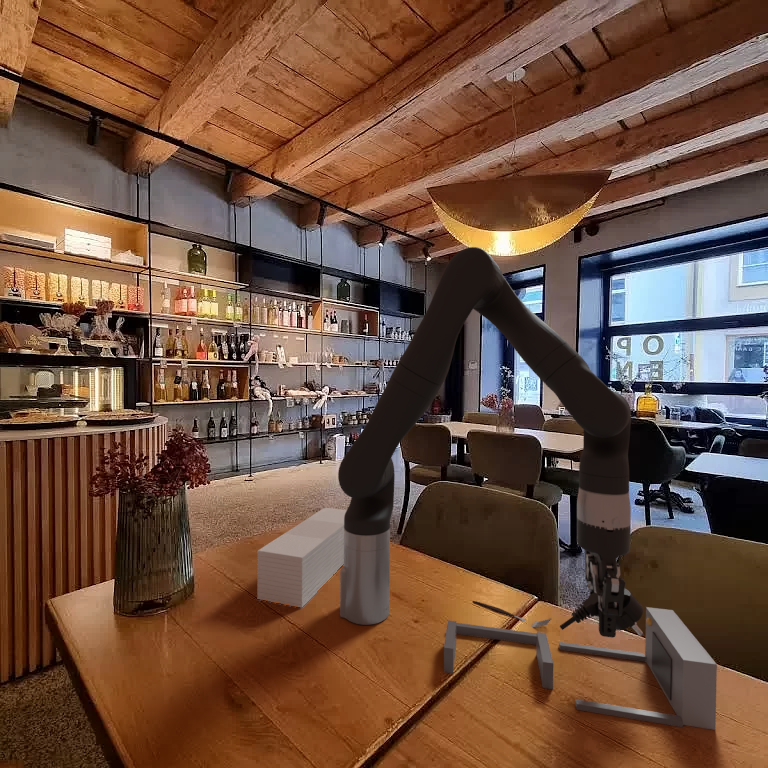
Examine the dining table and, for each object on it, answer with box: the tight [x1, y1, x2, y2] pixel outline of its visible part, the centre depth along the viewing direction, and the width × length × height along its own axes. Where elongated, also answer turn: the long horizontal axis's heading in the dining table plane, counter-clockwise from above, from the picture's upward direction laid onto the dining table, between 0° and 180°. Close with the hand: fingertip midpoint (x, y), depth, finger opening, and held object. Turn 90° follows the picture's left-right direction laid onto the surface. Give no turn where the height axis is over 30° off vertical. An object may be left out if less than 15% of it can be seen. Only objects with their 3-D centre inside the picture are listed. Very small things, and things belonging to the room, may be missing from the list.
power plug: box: [559, 587, 644, 637], centre depth 68 cm, size 6×8×12 cm
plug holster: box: [443, 620, 554, 690], centre depth 74 cm, size 17×12×4 cm
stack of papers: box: [256, 507, 347, 608], centre depth 105 cm, size 32×11×11 cm, turn 162°
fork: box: [472, 600, 552, 629], centre depth 87 cm, size 3×16×2 cm, turn 52°
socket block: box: [558, 606, 718, 731], centre depth 68 cm, size 18×15×9 cm
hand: (602, 624), depth 68 cm, fingers closed on power plug, 5 cm apart
